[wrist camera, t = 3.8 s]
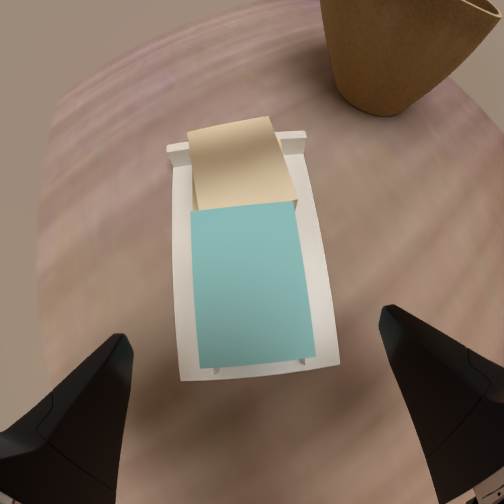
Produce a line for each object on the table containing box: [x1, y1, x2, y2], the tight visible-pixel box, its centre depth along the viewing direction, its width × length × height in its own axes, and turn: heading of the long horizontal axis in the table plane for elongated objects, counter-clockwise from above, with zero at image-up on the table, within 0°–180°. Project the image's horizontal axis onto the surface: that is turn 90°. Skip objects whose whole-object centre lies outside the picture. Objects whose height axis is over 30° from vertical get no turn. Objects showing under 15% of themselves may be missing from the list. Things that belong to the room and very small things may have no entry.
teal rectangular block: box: [190, 201, 316, 369], centre depth 13 cm, size 5×3×10 cm
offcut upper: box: [187, 116, 298, 210], centre depth 16 cm, size 6×5×2 cm
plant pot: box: [320, 0, 502, 116], centre depth 17 cm, size 15×15×16 cm
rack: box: [166, 131, 340, 381], centre depth 18 cm, size 16×10×3 cm, turn 6°
